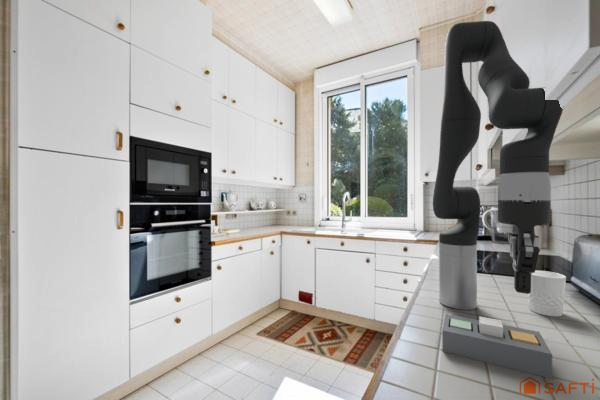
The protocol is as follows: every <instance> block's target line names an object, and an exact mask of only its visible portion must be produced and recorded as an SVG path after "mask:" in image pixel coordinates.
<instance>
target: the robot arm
mask: <svg viewBox="0 0 600 400" xmlns="http://www.w3.org/2000/svg"><path fill="white" fill-rule="evenodd" d="M502 34H503V33H502V32H501V29H500V28H499V26H498V25H497V24H496V23H495V22H494V21H491V20H478V21H465V22H457V23H454V24H453V25H451V27H450V28H449V30H448V32H447V35H446V38H445V45H444V71H443V72H444V83H443V84H444V87H443V88H444V90H443V91H444V92H443V100H442V101H443V103H442V111H441V112H442V113H441V121H440V132H439V133H440V135H439V152H438V162H437V163H438V166H437V171H436V176H435V177H436V178H435V184H434V189H433V195H432V208H433V209H432V210H433V213H434V216H435V217H436V218H437V219H439V220H440V219H441V220H457V221H456V224H455V225H453V226H452V227H451V228H450V227H449V229H445V230H443V231H441V232H440V233H439V235H438V237H439V238H438V242H439V243H438V245H439V246H438V249H439V250H438V254H439V255H438V256H439V257H438V258H439V260H438V262H439V263H438V267H439V268H438V270H439V271H438V272H439V274H438V276H439V277H438V279H439V282H438V285H439V286H438V297H439V298H438V301H439V303H441V305H443V306H446V307H448V308H452V309H456V310H457V309H458V310H466V311H469V310H470V311H471V310H476V309H477V308H478V305H477V304H478V302H477V301H478V299H477V298H478V269H477V268H478V265H477V263H478V259H477V258H478V254H477V253H478V252H477V251H478V250H477V249H478V247H477V246H478V245H477V241H478V237H479V233H480V219H481V199H480V194H479V192H478V191H477V189H475V188H474V187H472V186H454V182H455V178H456V175H457V171H458V170H459V167H460V166H461V164H462V163H463V161H464V160H465V159H466V158H467V156H468V155H469V154H470V152H471V151H472V150H473V148H474V147H475V145H476V144H477V142H478V139H479V137H480V129H481V119H482V114H481V113H482V112H481V109H480V107H479V105H478V103H477V100H476V99H475V97H474V96H473V94H472V92H471V91H470V89H469V88H468V85H467V84H466V81H465V77H464V70H463V64H465V63H466V64H467V63H470V64H471V63H478V62H482V64H481V65H480V67H479V69H478V70H479V71H478V73H477V81H478V84H479V86H480V88H481V90H482V91H483V93H484V94H485V96H486V98H487V104H488V105H487V106H488V120H489V122H490V124H491V125H492V126H494V127H495V128H496V129H497V128H498V129H499V130H523V129H527V132H526V134H525V136H524V138H523V139H520V140H515V141H511V142H508V143H505V144H504V145H502V146H501V148H500V152H499V178H498V179H499V180H498V184H497V222H498V223H500V224H505V225H511V226H512V232H508V234H507V235H508V236H507V240H508V242H509V255H510V257H511V261H510V262H511V265H512V268H513V270H514V275H513V276H514V279H513V282H514V290H515V292H517V293H519V294H521V293H522V294H525V295H526V294H529V293H531V274H532V273H533V272H535V270H536V267H537V263H538V258H539V254H540V252H541V251H540V248H539V244H540V237H539V235H536V231H535V228H536V227H537V226H540V227H541V226H542V227H544V226H545V227H546V226H549V225H550V224H551V223H552V222H551V220H552V218H551V216H552V215H551V213H552V211H551V209H552V208H551V207H552V205H551V204H552V203H551V202H552V201H551V200H552V196H551V193H552V183H551V179H550V149H551V145H552V143H553V140H554V136H555V133H556V130H557V127H558V125H559V122H560V120H561V117H562V114H563V110H564V108H563V109H562V108H561V107H560V104H559V101H558V100H545V91H544V89H543V88H544V87H534V88H529V87H530V78H529V76H528V75H527V73H526V71H524V70H523V69H522V68H521V66H520V65H519V64H518V63H517V62H516V61H515V60H514V58H513V57H512V56H511V54H510V51H509V49H508V48H507V46H508V45H507V44H506V41H505V39H504V37H503V35H502Z"/></svg>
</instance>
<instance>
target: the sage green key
mask: <svg viewBox="0 0 600 400" xmlns="http://www.w3.org/2000/svg"><path fill="white" fill-rule="evenodd" d="M450 327H453V328H457V329H462V330H467V331H471V322H467V321H461V320H456V319H451V322H450Z"/></svg>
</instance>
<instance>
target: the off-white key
mask: <svg viewBox="0 0 600 400" xmlns="http://www.w3.org/2000/svg"><path fill="white" fill-rule="evenodd" d="M478 320H479V330H480V333H481V334H486V335H491V336H496V337H500V338H503V325H504V324H503V323H502V320H500V319H495V318H489V317H485V316H484V317H483V316H478Z"/></svg>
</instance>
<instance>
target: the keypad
mask: <svg viewBox="0 0 600 400" xmlns="http://www.w3.org/2000/svg"><path fill="white" fill-rule="evenodd" d="M451 319H456V320H461V321H467V322H471V331H467V330H462V329H457V328H453V327H450V322H451ZM442 325H443V326H442V352H445V353H449V354H453V355H457V356H462V357H465V358H470V359H472V360H476V361H480V362H485V363H488V364H493V365H495V366H496V365H497V366H499V367H504V368H505V367H506V368H508V369H513V370H516V371H521V372H525V373H529V374H533V375H537V376H539V377H545V378H549V379H553V354H552V353H553V352H551V350H550V348H549V346H548V345H547V343H546V340H544V338H543V335H542V334H541V332H540V331H538V330H532V329H527V328H523V327H522V328H521V327H515V326H510V325H505V324H502V325H503V338H500V337H496V336H491V335H486V334H481V333H480V330H479V319H473V318H469V317H464V316H463V317H462V316H457V315H453V314H447V313H445V315H444V319H443V324H442ZM510 330H513V331H518V332H523V333H528V334H533V335H535V337H536V339H537V341H538V343H539V345H534V344H529V343H524V342H519V341H515V340H511V338H510Z"/></svg>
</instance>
